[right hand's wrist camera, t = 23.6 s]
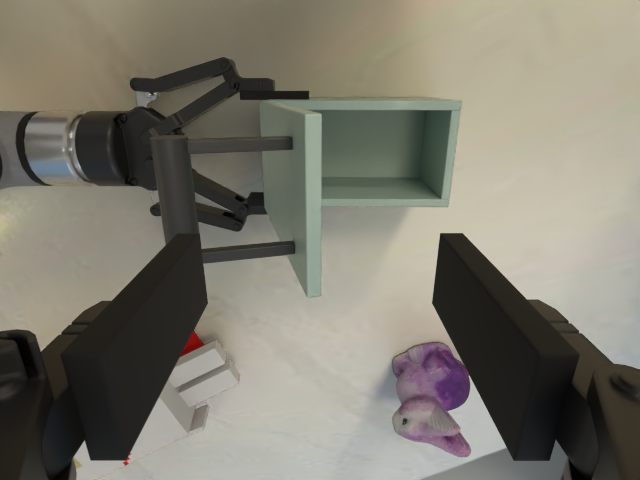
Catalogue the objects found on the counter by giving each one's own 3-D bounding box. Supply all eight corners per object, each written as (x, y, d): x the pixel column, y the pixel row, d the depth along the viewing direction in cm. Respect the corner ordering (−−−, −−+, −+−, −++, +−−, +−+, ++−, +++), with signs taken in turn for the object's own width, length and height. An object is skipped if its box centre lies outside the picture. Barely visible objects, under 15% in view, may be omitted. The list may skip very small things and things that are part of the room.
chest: (431, 97, 45) (461, 100, 35) (423, 182, 49) (448, 207, 39) (277, 97, 45) (264, 100, 35) (280, 182, 49) (269, 206, 39)
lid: (322, 113, 19) (134, 116, 17) (321, 296, 22) (167, 316, 20) (268, 100, 35) (170, 101, 33) (273, 207, 38) (184, 214, 37)
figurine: (375, 372, 59) (392, 461, 45) (423, 326, 56) (458, 406, 42) (421, 403, 61) (451, 497, 47) (469, 360, 58) (517, 447, 44)
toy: (246, 422, 50) (37, 524, 51) (251, 360, 63) (83, 442, 63) (196, 349, 46) (-30, 461, 47) (211, 299, 59) (33, 387, 59)
